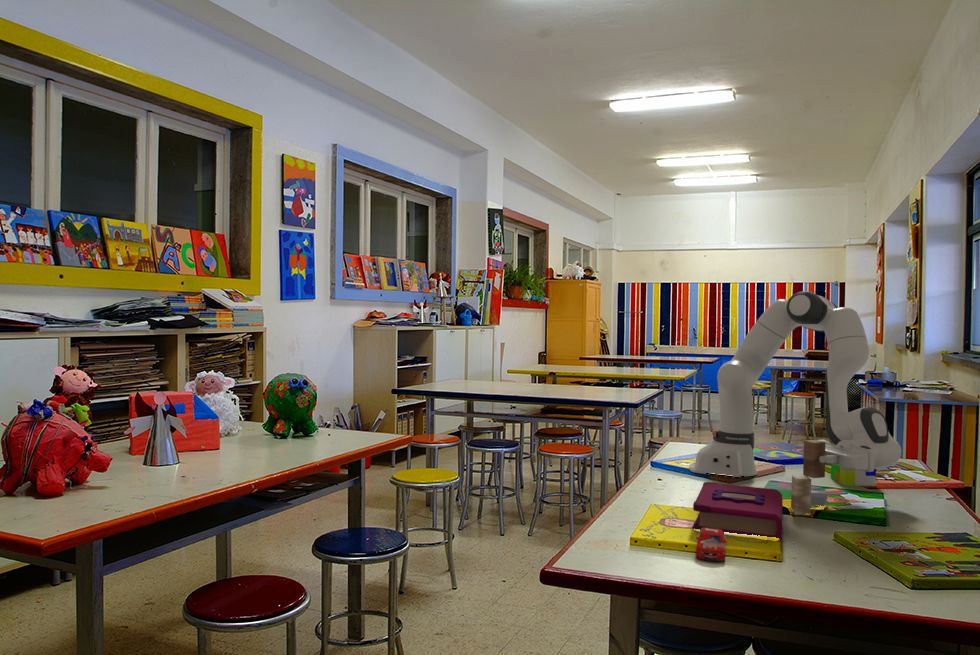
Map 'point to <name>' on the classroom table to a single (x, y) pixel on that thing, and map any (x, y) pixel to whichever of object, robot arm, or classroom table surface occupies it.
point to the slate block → (818, 498)
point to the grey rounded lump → (826, 442)
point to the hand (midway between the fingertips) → (811, 457)
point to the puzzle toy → (853, 476)
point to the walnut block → (813, 459)
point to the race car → (711, 544)
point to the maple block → (801, 494)
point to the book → (739, 509)
